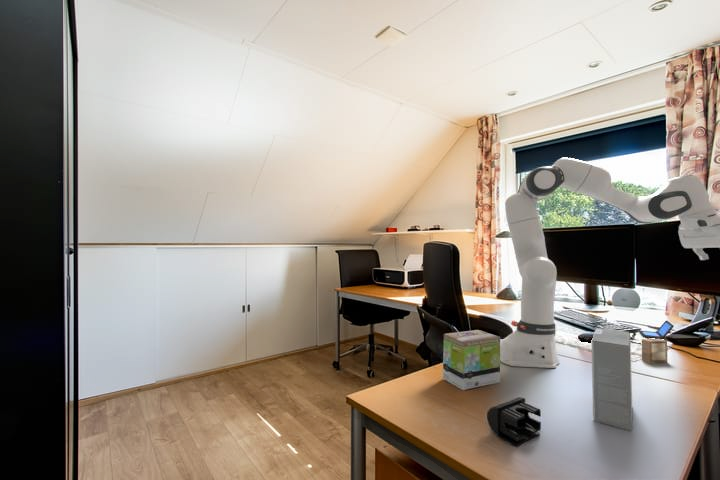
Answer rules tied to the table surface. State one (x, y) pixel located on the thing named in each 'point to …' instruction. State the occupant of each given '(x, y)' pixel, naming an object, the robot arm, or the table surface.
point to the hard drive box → (612, 378)
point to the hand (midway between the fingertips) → (715, 259)
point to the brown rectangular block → (654, 350)
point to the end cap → (514, 421)
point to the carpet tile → (574, 342)
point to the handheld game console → (658, 331)
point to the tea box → (471, 359)
